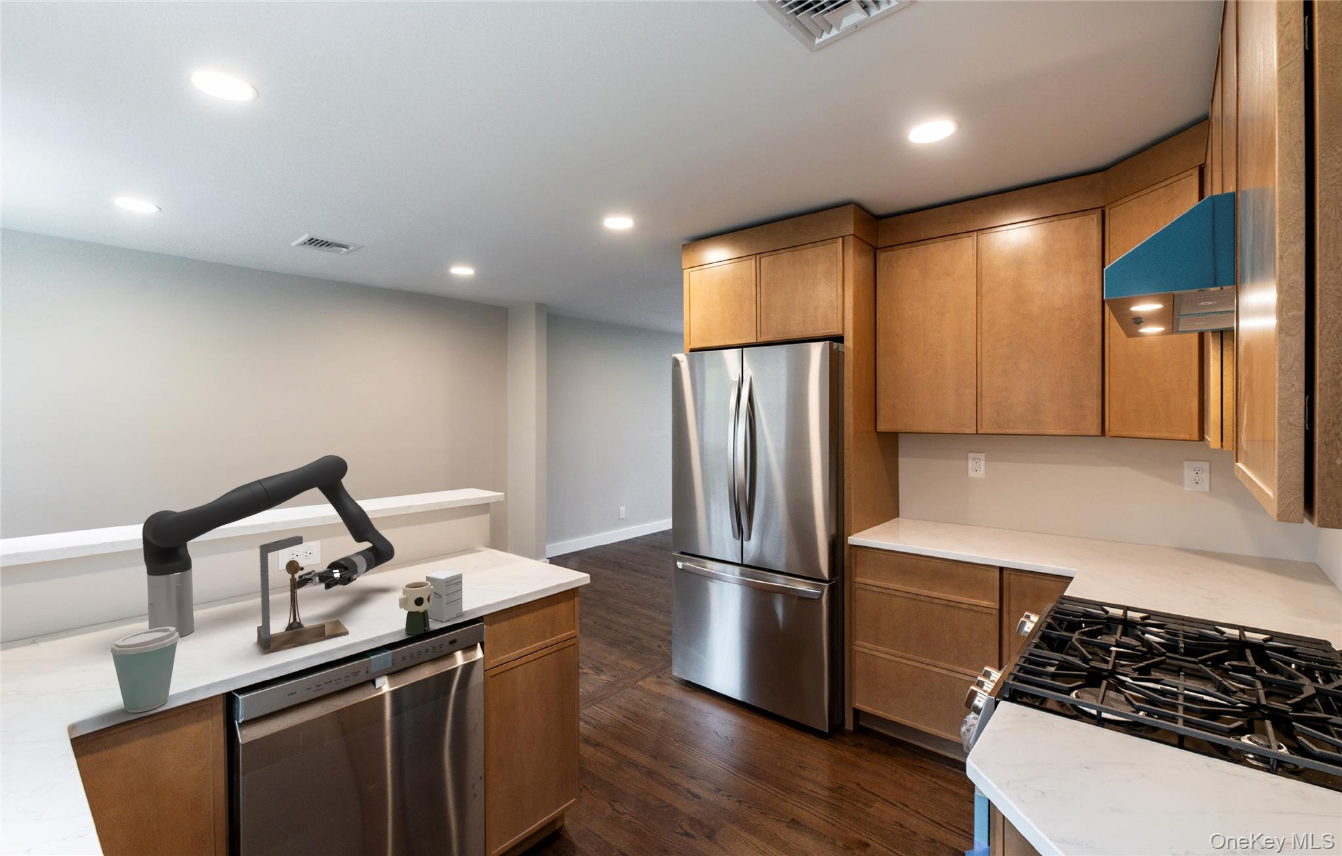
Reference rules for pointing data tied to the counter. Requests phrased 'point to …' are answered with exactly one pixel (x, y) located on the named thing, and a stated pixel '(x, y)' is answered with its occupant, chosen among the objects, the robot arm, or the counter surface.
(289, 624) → the wooden tabletop sculpture
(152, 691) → the disposable coffee cup
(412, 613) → the character mug
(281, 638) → the stand
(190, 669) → the counter surface
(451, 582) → the supplement box
